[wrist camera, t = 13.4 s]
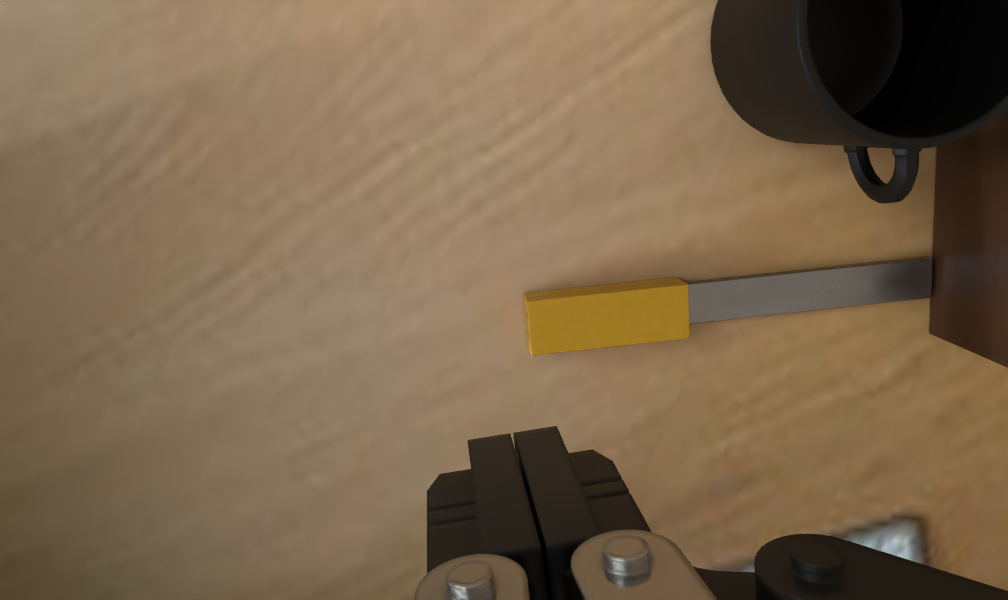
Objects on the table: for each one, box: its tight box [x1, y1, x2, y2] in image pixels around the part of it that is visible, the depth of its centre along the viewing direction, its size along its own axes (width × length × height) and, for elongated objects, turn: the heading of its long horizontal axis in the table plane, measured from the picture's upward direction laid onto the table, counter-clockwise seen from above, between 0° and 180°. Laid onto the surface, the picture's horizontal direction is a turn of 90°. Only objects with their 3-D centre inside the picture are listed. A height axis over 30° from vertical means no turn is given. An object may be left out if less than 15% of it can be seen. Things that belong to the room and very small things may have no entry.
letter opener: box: [523, 257, 932, 355], centre depth 36 cm, size 20×3×2 cm, turn 95°
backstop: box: [929, 108, 1008, 367], centre depth 33 cm, size 2×20×6 cm, turn 5°
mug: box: [711, 0, 1008, 203], centre depth 31 cm, size 9×12×9 cm
